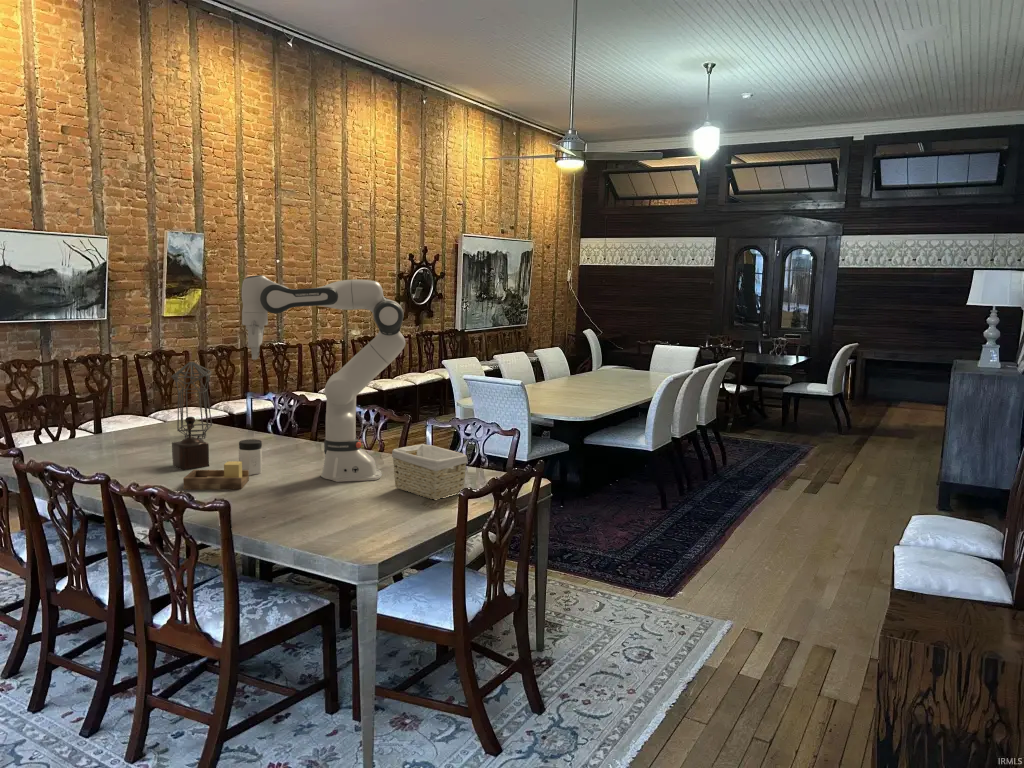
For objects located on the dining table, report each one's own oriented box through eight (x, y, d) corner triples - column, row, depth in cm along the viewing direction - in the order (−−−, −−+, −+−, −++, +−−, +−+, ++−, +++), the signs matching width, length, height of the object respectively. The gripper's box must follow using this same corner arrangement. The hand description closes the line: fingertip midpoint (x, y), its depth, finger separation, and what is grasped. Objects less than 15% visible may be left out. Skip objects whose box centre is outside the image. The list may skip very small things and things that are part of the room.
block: (242, 477, 272) (242, 461, 272) (238, 481, 267) (238, 464, 267) (227, 477, 272) (227, 461, 271) (224, 481, 267) (223, 464, 266)
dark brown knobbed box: (211, 466, 296) (210, 420, 293) (183, 470, 288) (182, 423, 285) (194, 459, 306) (193, 415, 304) (166, 463, 298) (165, 418, 296)
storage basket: (468, 494, 268) (469, 453, 266) (435, 503, 256) (435, 460, 254) (423, 481, 284) (424, 442, 282) (389, 489, 272) (390, 448, 270)
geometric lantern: (210, 440, 341) (207, 363, 336) (173, 442, 338) (169, 364, 333) (216, 433, 357) (212, 359, 351) (180, 434, 353) (176, 360, 348)
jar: (243, 476, 282) (243, 444, 281) (234, 471, 288) (234, 440, 287) (266, 472, 288) (266, 442, 287) (257, 468, 294) (257, 438, 293)
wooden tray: (248, 480, 276) (248, 470, 276) (241, 489, 264) (241, 478, 264) (193, 480, 274) (193, 469, 273) (183, 489, 262) (183, 478, 262)
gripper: (262, 321, 266) (262, 361, 268) (265, 319, 285) (266, 355, 287) (243, 321, 264) (243, 361, 266) (248, 318, 284) (248, 355, 286)
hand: (255, 358), depth 277 cm, fingers open, 8 cm apart
